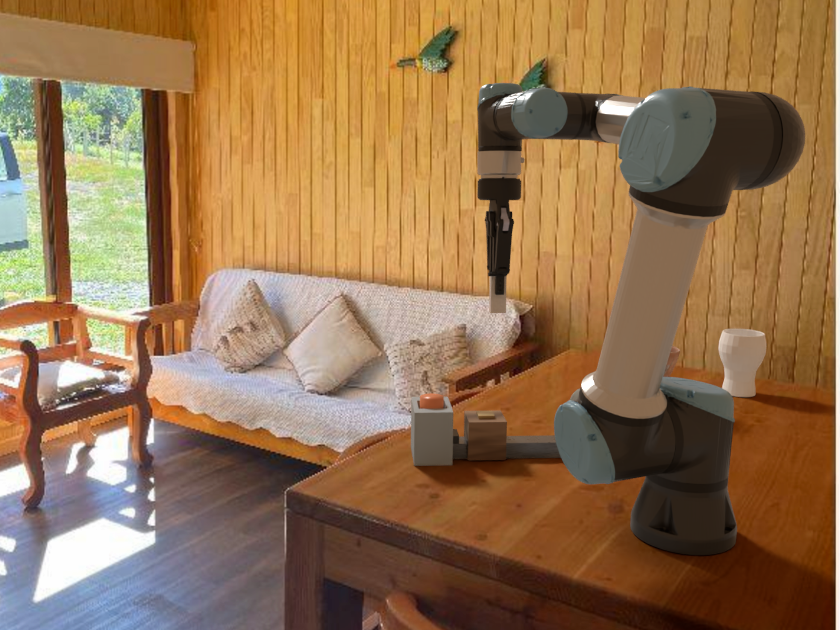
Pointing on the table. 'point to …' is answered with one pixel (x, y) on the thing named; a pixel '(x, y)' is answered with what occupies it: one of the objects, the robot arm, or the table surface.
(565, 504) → the table surface
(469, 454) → the block
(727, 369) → the cup
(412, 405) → the grey button housing
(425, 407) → the button
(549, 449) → the rail
